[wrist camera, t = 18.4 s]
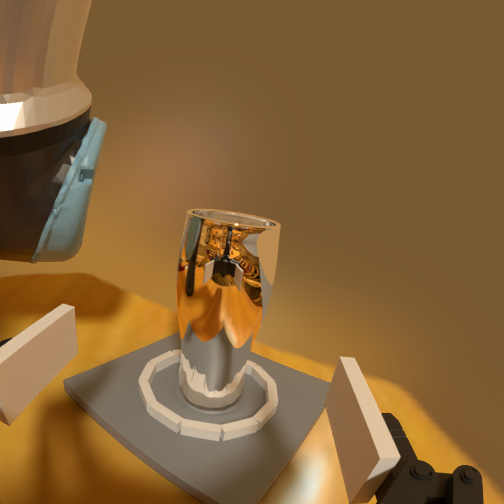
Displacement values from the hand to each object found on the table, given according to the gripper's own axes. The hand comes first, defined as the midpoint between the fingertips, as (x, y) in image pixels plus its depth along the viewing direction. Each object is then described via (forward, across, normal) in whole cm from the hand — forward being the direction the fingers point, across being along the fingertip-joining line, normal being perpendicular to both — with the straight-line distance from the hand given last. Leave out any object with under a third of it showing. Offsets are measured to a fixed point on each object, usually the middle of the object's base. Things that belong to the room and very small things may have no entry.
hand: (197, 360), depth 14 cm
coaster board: (+10, 0, -10) cm, 14 cm away
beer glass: (+10, 0, -10) cm, 13 cm away
